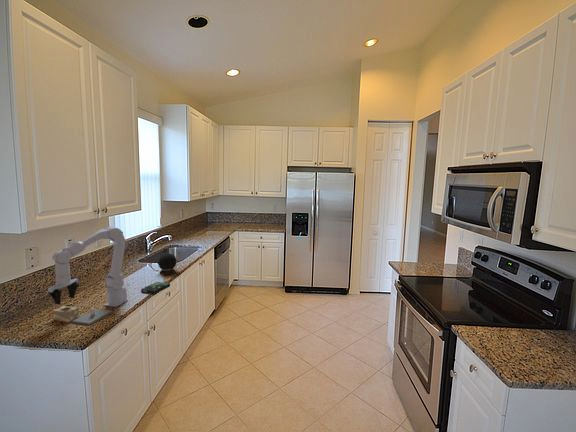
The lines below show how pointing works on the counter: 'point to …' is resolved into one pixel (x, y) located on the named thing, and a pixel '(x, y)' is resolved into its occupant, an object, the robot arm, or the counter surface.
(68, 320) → the hollow block
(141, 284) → the counter surface
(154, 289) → the disk drive
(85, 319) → the pin board
